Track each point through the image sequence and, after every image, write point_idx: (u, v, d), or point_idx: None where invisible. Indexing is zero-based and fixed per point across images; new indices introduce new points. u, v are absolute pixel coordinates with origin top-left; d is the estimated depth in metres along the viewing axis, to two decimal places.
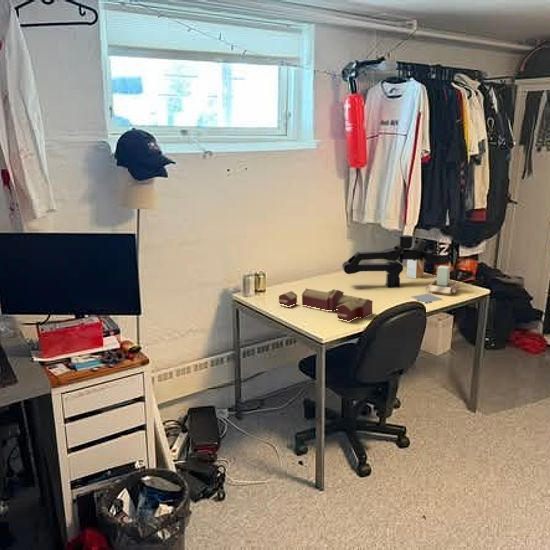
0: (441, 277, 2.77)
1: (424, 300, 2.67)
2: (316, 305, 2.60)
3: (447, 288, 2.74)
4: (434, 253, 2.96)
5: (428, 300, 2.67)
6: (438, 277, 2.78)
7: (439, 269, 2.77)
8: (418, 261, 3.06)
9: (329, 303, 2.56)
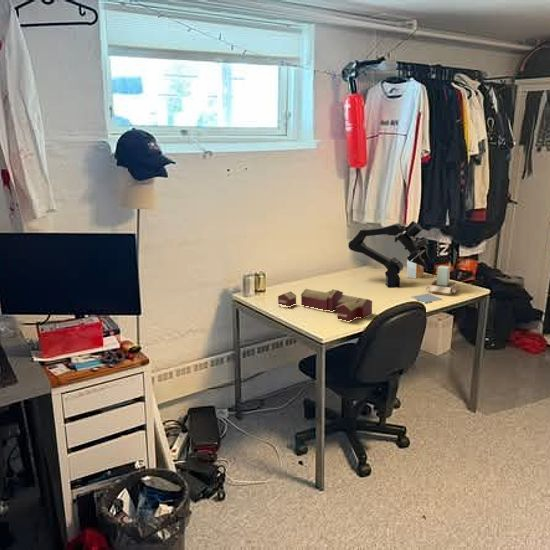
0: (441, 277, 2.77)
1: (424, 300, 2.67)
2: (315, 305, 2.60)
3: (447, 288, 2.74)
4: (428, 261, 2.86)
5: (428, 300, 2.67)
6: (438, 277, 2.78)
7: (439, 269, 2.77)
8: None
9: (329, 303, 2.55)
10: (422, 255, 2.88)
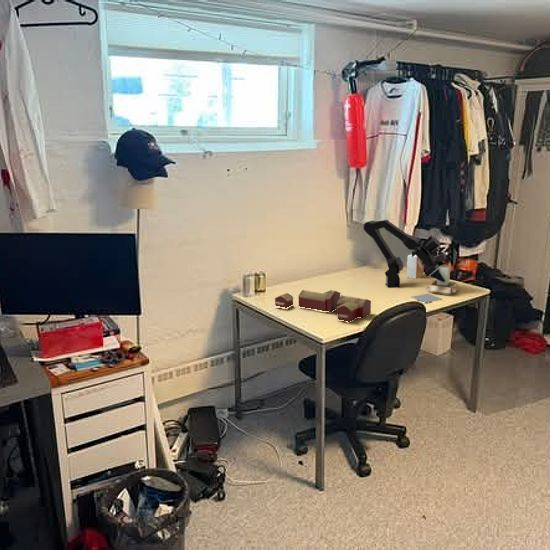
0: None
1: (424, 300, 2.67)
2: (313, 306, 2.58)
3: (447, 288, 2.74)
4: None
5: (428, 300, 2.67)
6: None
7: None
8: (418, 261, 3.06)
9: (327, 304, 2.54)
10: None
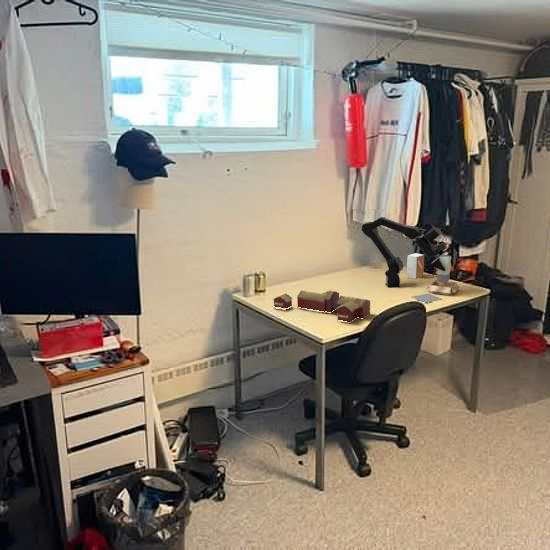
0: None
1: (424, 300, 2.67)
2: (312, 307, 2.57)
3: (447, 288, 2.74)
4: None
5: (428, 300, 2.67)
6: None
7: (440, 258, 2.75)
8: (418, 261, 3.06)
9: (326, 304, 2.54)
10: None
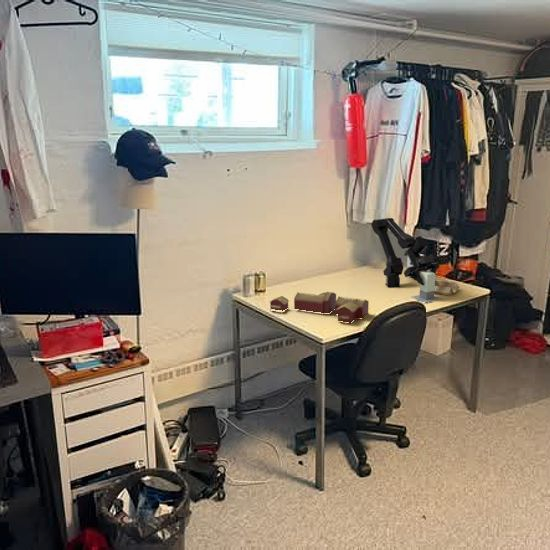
0: None
1: (424, 300, 2.67)
2: (310, 309, 2.55)
3: (447, 288, 2.74)
4: None
5: (428, 300, 2.67)
6: None
7: (422, 274, 2.68)
8: None
9: (325, 306, 2.52)
10: None
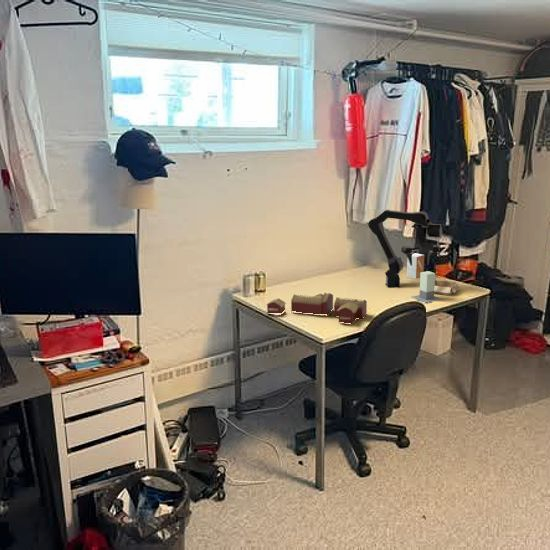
0: (422, 282, 2.68)
1: (424, 300, 2.67)
2: (308, 310, 2.52)
3: (447, 288, 2.74)
4: (427, 262, 2.85)
5: (428, 300, 2.67)
6: (420, 282, 2.69)
7: (421, 274, 2.68)
8: (418, 261, 3.06)
9: (323, 307, 2.50)
10: (428, 253, 2.85)
